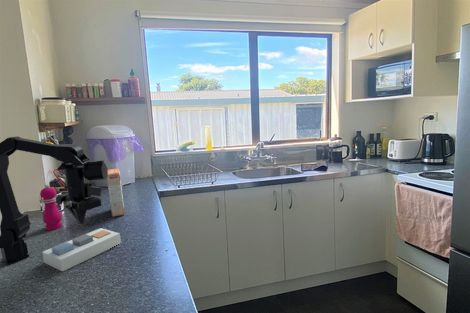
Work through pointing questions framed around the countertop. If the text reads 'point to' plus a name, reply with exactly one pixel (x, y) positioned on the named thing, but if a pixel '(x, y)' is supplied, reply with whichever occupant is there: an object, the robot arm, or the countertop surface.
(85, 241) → the key charcoal
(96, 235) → the tan square block
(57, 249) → the key slate
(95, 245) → the keypad
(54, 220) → the pepper mill
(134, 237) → the countertop surface
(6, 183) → the robot arm
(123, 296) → the countertop surface
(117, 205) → the cracker box
